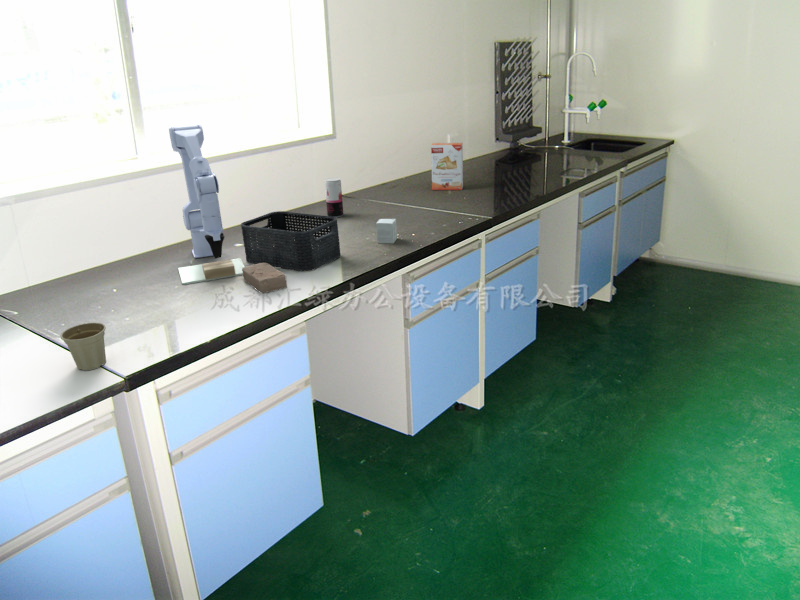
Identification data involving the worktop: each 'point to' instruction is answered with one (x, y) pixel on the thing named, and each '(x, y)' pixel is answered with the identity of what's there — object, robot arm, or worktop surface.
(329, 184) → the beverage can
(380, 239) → the product box
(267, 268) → the brick
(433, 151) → the cracker box
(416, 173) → the worktop surface
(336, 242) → the storage bin
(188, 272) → the mat
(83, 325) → the flower pot
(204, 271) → the slab
